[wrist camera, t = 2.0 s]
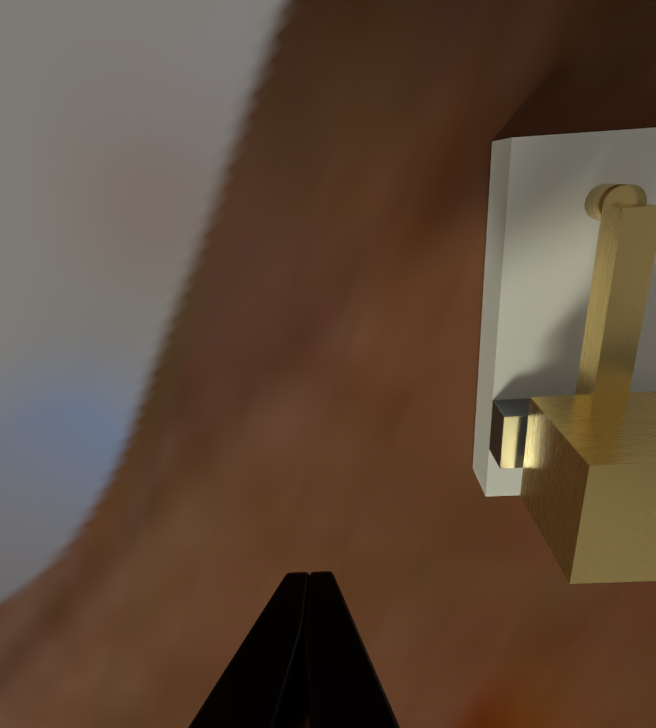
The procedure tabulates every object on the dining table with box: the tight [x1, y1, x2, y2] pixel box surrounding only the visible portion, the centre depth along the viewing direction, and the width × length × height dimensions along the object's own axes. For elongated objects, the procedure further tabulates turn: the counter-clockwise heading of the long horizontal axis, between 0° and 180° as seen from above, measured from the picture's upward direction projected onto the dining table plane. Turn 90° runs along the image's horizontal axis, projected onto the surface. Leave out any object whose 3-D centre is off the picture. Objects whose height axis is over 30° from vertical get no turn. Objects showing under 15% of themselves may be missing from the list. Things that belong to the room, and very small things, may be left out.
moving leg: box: [520, 183, 656, 584], centre depth 10 cm, size 3×8×4 cm, turn 4°
